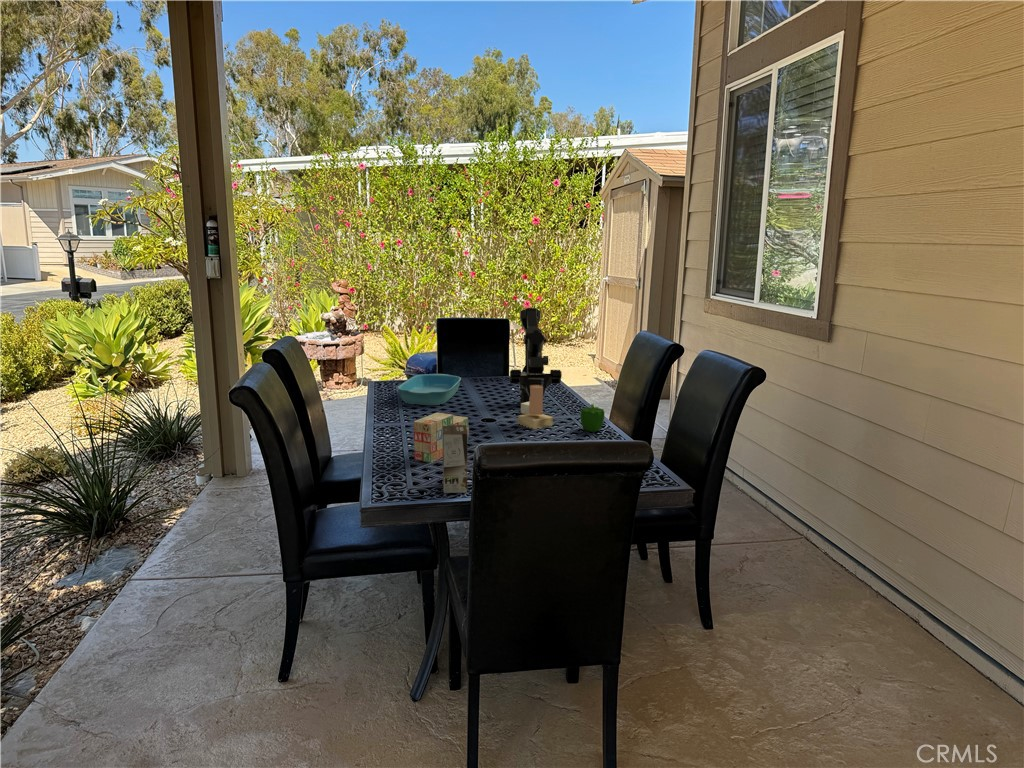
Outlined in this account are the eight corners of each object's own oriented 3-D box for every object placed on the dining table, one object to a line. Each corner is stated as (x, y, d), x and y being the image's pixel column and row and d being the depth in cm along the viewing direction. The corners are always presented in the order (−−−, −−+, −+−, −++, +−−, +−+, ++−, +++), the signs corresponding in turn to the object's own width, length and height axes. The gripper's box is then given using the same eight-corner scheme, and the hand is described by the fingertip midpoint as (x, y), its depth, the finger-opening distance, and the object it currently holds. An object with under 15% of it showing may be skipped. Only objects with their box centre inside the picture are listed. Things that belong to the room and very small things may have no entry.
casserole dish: (445, 409, 259) (445, 392, 257) (391, 407, 262) (391, 389, 260) (465, 390, 294) (465, 374, 293) (417, 387, 297) (417, 372, 296)
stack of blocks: (453, 442, 216) (452, 406, 213) (469, 445, 213) (469, 408, 210) (413, 460, 197) (413, 420, 195) (431, 463, 194) (430, 423, 192)
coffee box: (467, 493, 171) (467, 433, 168) (443, 493, 170) (442, 434, 167) (466, 480, 180) (466, 424, 177) (443, 481, 179) (442, 424, 176)
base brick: (536, 421, 244) (537, 412, 243) (552, 426, 237) (553, 417, 236) (518, 424, 238) (518, 415, 238) (533, 430, 231) (534, 421, 231)
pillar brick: (529, 411, 239) (529, 384, 237) (541, 411, 239) (542, 384, 237) (529, 414, 234) (530, 387, 232) (542, 414, 235) (543, 387, 232)
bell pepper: (585, 425, 237) (586, 399, 235) (606, 429, 233) (608, 402, 231) (575, 431, 230) (576, 403, 228) (597, 434, 226) (598, 406, 224)
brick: (529, 411, 258) (529, 401, 257) (538, 413, 254) (539, 403, 253) (520, 413, 254) (520, 403, 253) (530, 415, 251) (530, 405, 250)
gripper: (510, 347, 235) (511, 383, 227) (561, 347, 236) (564, 384, 228) (509, 365, 245) (510, 400, 236) (558, 365, 245) (561, 400, 237)
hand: (536, 396), depth 234 cm, fingers closed on pillar brick, 4 cm apart
